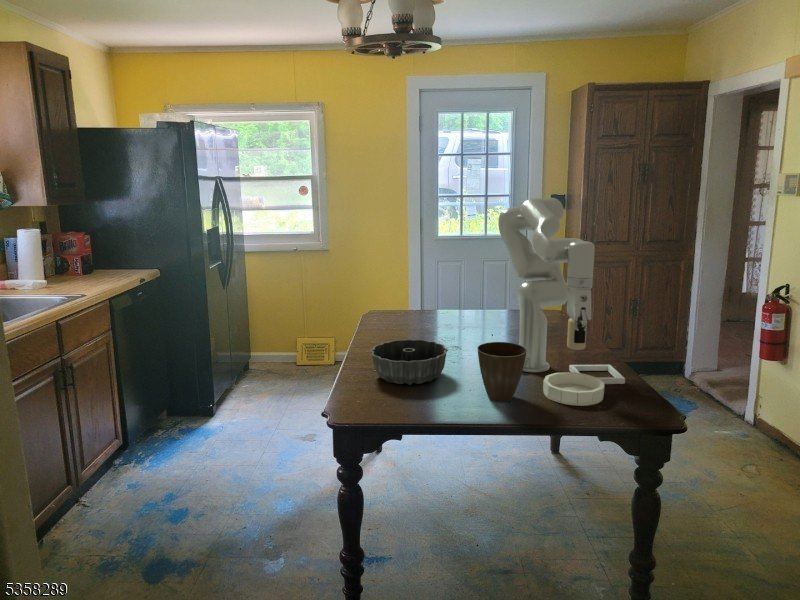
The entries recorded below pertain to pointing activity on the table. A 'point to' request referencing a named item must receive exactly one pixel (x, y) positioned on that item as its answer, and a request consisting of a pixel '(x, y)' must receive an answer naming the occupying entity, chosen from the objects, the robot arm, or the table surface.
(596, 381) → the bowl
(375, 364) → the bundt pan
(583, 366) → the white square frame
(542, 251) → the robot arm
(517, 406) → the table surface
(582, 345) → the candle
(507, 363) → the plant pot
